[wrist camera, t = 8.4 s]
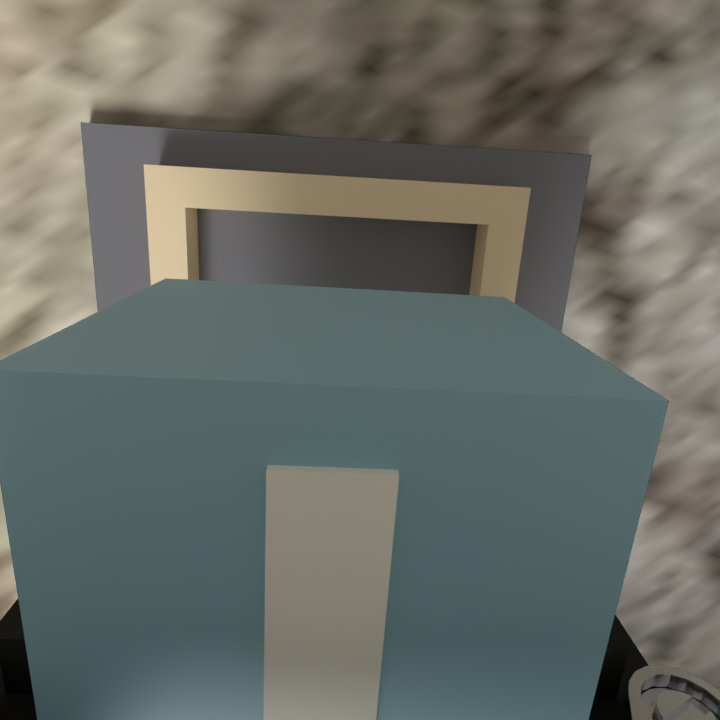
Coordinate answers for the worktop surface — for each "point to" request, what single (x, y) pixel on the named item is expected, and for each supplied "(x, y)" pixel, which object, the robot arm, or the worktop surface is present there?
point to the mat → (331, 214)
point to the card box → (319, 506)
